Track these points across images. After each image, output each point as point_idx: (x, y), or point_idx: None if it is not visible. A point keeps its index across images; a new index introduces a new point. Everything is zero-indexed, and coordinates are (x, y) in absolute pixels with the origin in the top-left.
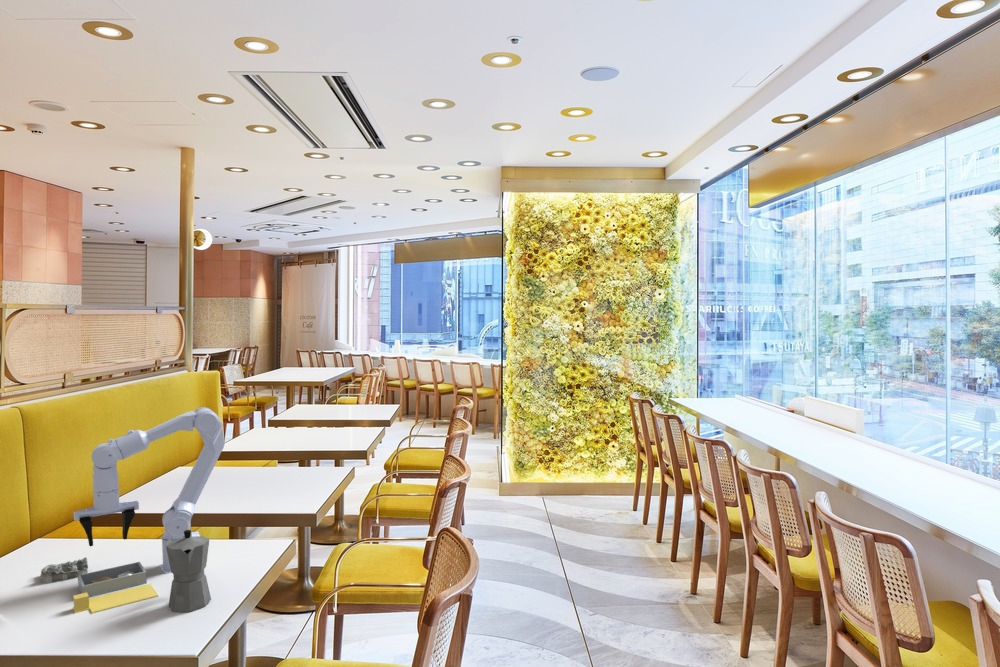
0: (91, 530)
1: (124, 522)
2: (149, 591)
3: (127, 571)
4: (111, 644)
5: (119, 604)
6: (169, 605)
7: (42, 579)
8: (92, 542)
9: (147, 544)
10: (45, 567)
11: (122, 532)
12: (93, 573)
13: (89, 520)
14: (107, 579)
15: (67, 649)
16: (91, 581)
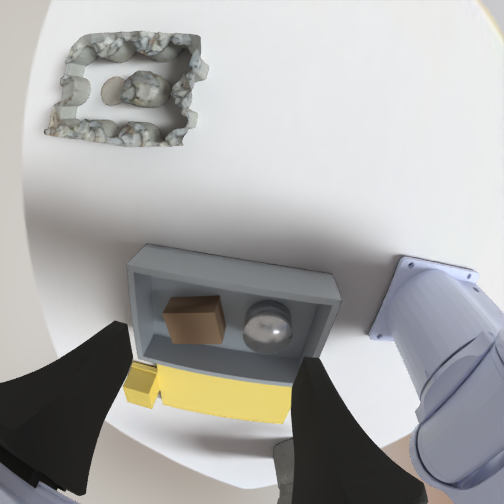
0: (94, 439)
1: (297, 486)
2: (279, 406)
3: (279, 325)
4: (182, 456)
5: (211, 413)
6: (274, 451)
7: (66, 118)
8: (123, 376)
9: (451, 3)
10: (77, 44)
11: (309, 378)
12: (174, 278)
13: (62, 485)
14: (208, 339)
15: (137, 436)
16: (165, 318)
